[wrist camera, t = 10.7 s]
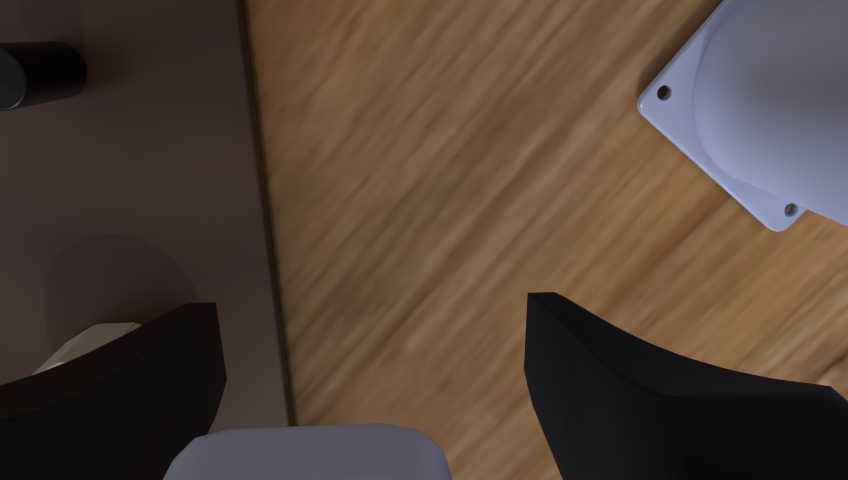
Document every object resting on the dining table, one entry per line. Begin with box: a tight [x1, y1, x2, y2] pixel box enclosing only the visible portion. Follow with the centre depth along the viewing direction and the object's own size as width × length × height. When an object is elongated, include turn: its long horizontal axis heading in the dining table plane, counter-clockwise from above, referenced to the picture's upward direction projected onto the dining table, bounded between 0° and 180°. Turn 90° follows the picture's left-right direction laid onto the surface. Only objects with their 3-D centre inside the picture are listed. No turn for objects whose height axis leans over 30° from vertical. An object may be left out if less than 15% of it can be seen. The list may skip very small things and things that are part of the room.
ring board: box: [0, 0, 295, 435], centre depth 20 cm, size 24×12×4 cm, turn 2°
